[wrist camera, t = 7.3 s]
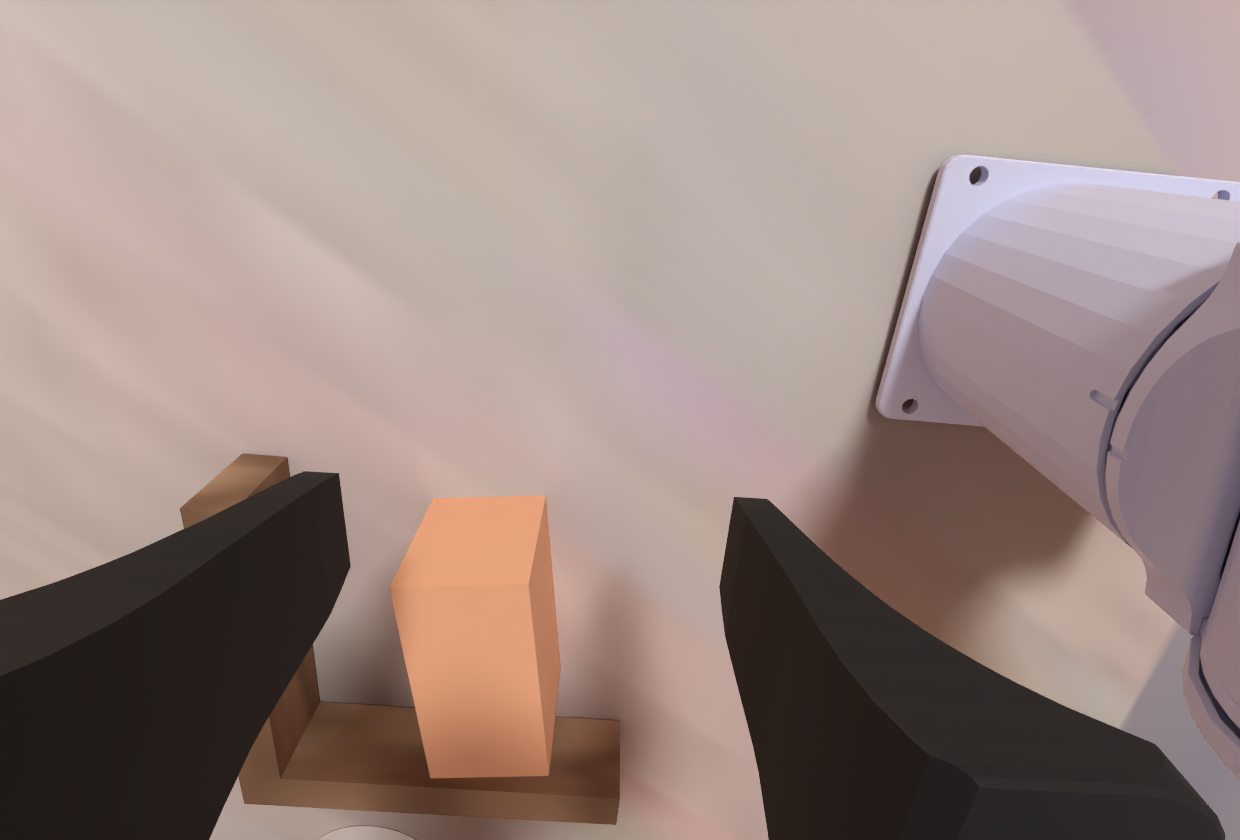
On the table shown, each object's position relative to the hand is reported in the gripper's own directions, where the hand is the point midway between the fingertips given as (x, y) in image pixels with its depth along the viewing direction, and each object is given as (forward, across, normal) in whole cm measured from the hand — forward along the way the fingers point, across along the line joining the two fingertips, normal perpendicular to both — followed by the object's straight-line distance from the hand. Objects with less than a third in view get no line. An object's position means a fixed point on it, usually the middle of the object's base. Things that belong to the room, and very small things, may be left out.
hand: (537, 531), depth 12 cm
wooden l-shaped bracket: (+10, +4, +11) cm, 15 cm away
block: (+10, +2, +9) cm, 14 cm away
